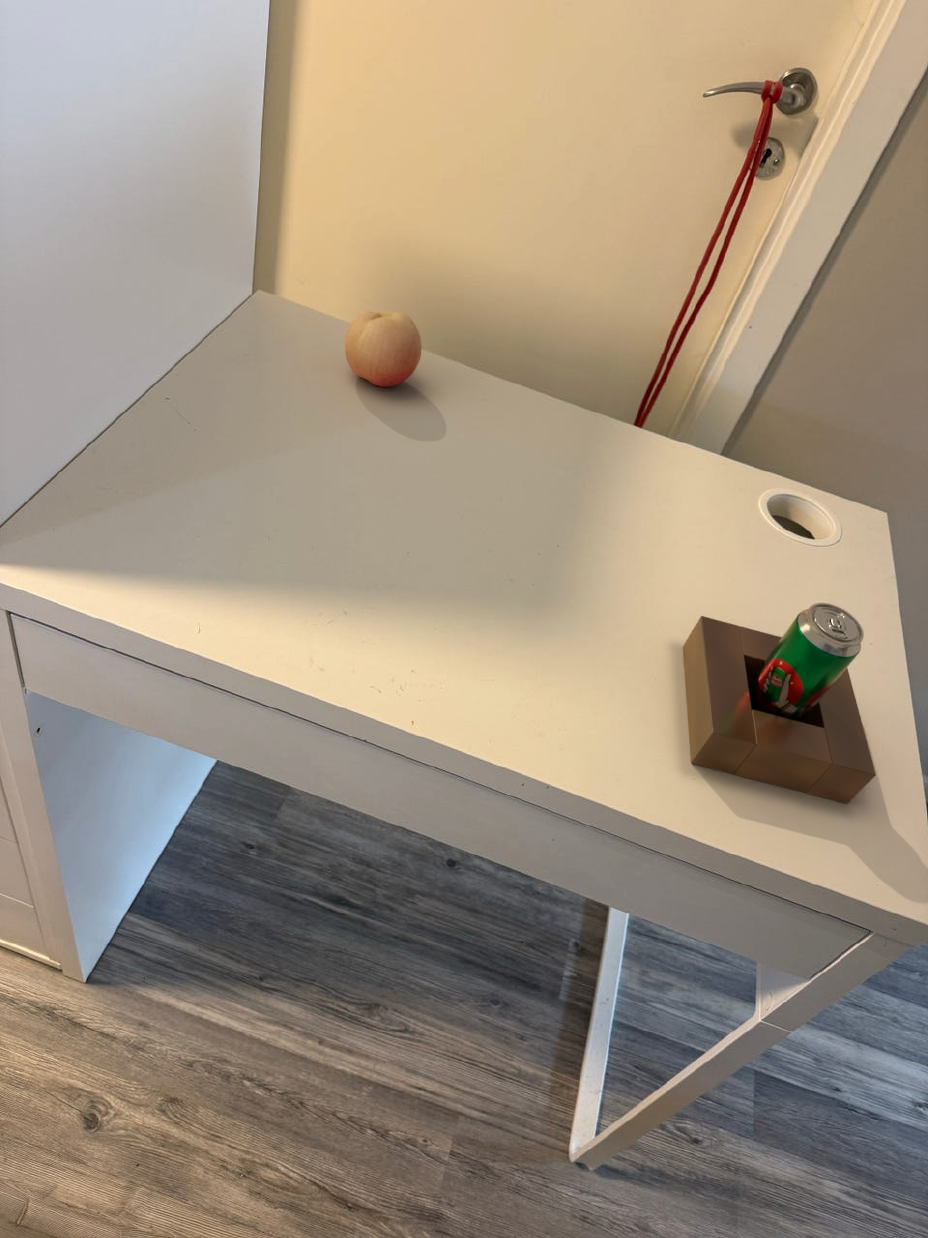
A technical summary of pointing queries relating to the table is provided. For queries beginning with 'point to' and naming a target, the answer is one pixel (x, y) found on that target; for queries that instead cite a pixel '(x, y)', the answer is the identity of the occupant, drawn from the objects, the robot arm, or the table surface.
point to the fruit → (383, 347)
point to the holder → (768, 719)
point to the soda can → (806, 662)
